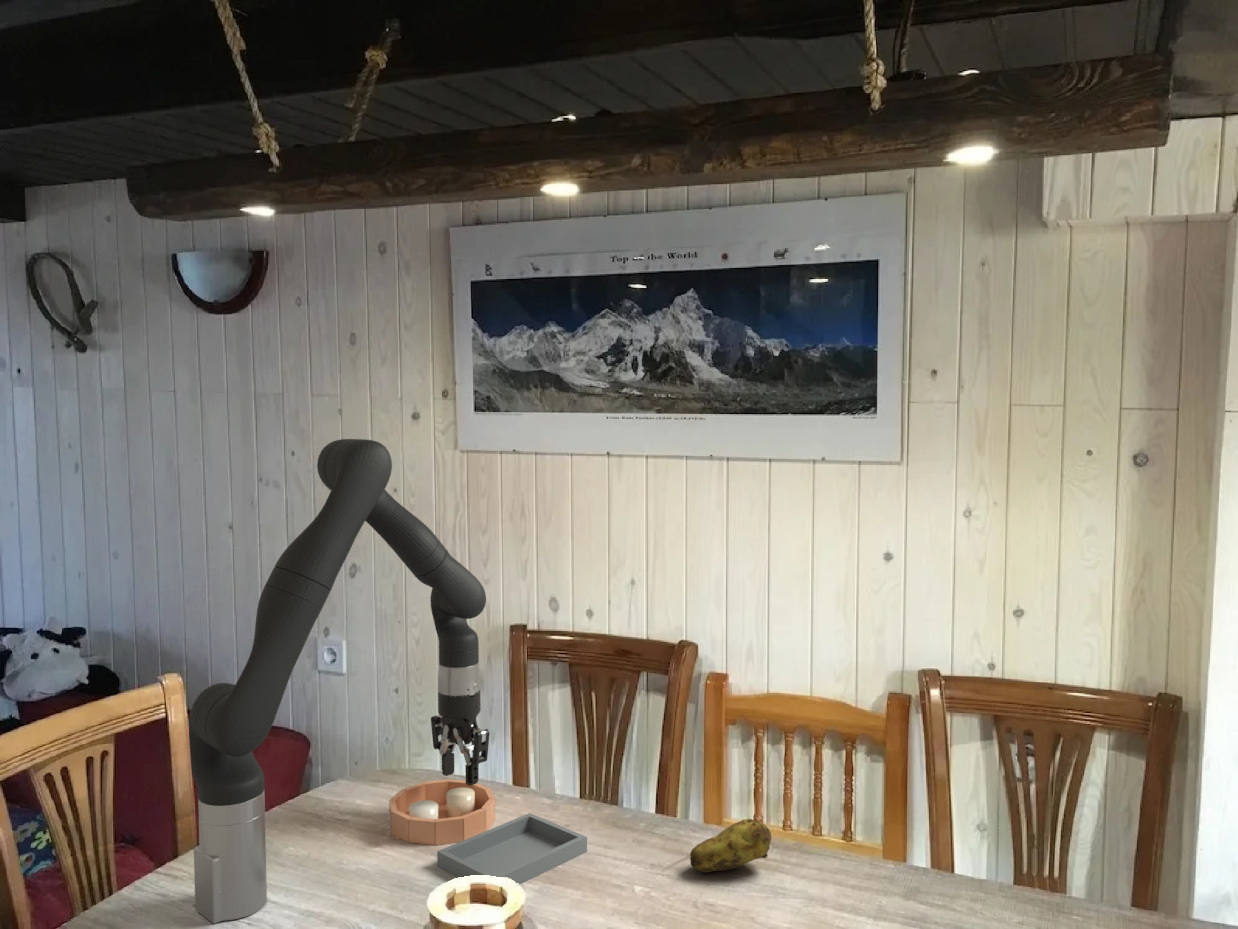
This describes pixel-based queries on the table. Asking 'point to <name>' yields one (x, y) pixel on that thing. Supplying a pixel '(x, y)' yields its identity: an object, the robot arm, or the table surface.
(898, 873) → the table surface
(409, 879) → the table surface
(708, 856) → the potato
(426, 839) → the bowl
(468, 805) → the pebble
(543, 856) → the tray
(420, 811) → the pebble
